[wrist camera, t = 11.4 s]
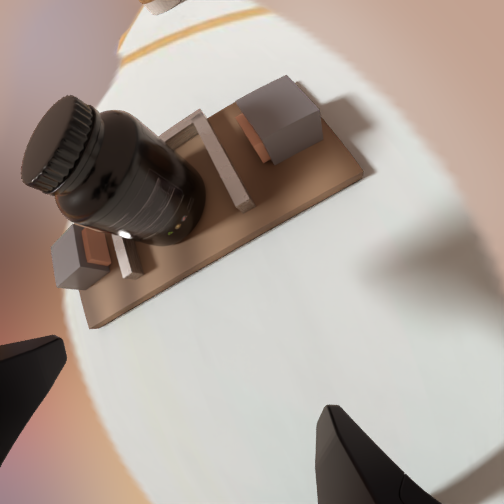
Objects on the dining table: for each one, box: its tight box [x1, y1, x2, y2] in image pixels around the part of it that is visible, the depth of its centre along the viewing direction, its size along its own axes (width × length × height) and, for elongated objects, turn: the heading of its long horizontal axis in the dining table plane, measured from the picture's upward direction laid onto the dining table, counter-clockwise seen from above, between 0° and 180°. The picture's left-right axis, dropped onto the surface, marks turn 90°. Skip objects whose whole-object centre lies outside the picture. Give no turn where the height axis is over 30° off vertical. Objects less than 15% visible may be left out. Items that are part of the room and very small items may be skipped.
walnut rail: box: [51, 75, 363, 329], centre depth 19 cm, size 26×11×5 cm, turn 116°
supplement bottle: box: [21, 95, 206, 246], centre depth 15 cm, size 7×7×12 cm
